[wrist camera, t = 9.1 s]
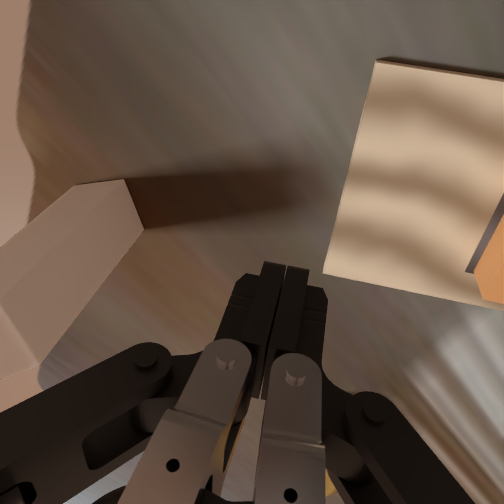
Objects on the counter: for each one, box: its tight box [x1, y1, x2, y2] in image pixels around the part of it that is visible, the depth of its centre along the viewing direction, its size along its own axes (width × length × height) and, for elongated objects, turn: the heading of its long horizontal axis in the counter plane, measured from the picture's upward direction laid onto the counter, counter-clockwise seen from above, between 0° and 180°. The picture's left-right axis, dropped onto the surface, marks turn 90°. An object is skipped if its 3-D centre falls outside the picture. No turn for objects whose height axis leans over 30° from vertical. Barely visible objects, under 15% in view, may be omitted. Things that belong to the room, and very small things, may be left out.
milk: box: [0, 179, 144, 380], centre depth 37 cm, size 6×6×22 cm
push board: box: [323, 60, 504, 311], centre depth 37 cm, size 20×26×1 cm
